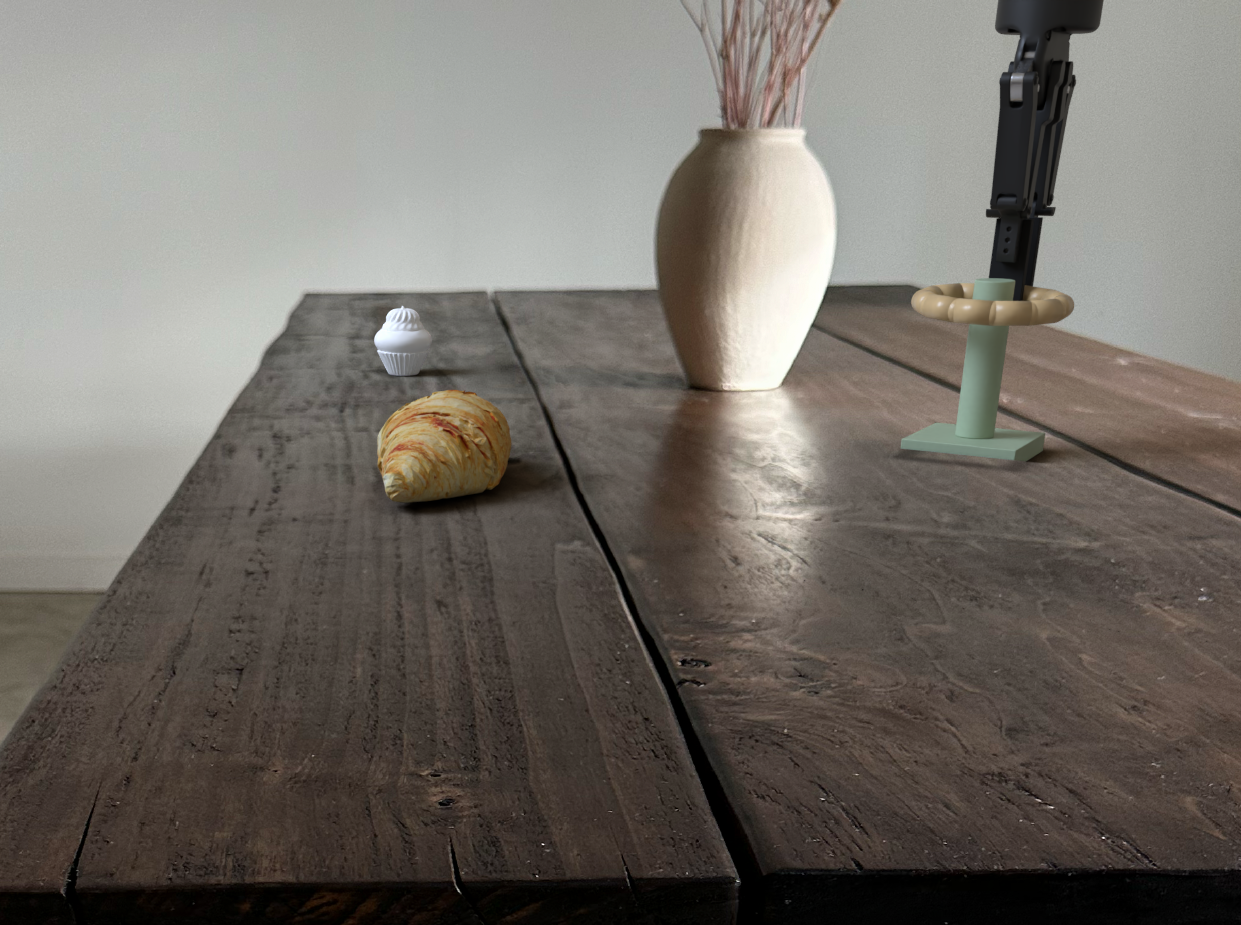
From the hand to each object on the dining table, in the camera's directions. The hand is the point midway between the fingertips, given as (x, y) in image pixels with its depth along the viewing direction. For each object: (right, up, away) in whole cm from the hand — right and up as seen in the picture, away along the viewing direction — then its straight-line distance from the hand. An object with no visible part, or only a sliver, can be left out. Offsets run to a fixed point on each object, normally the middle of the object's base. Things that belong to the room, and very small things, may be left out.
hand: (1008, 303), depth 129 cm
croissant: (-46, -17, -9) cm, 50 cm away
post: (-3, -12, +1) cm, 12 cm away
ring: (-3, -1, -4) cm, 5 cm away
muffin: (-49, +6, +42) cm, 65 cm away
